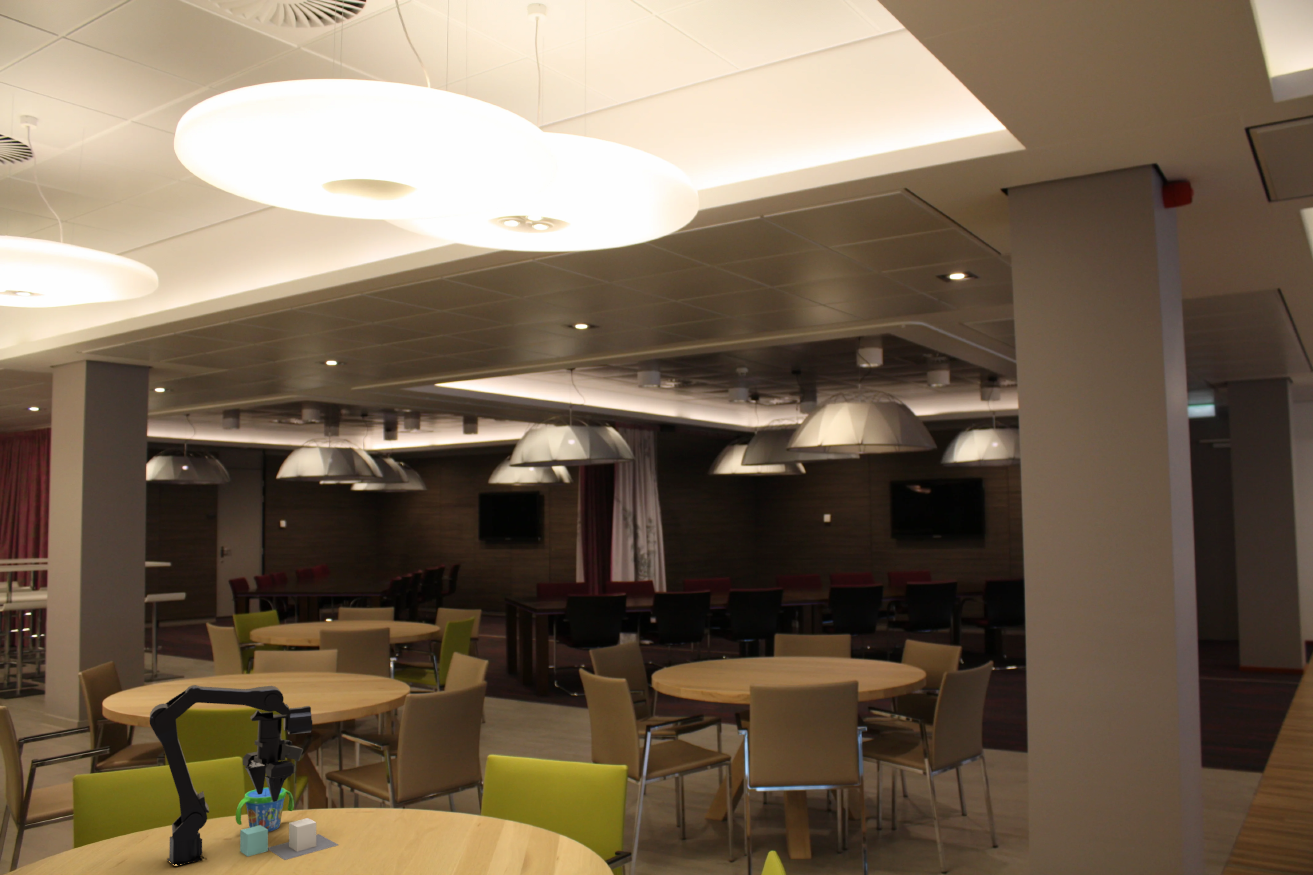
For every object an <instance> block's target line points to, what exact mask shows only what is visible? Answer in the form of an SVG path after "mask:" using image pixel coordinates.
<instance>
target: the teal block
mask: <svg viewBox="0 0 1313 875" xmlns="http://www.w3.org/2000/svg"><path fill="white" fill-rule="evenodd" d="M239 833H240V834H239V836H240V838H239V839H240V840H239V843H240V844H239V846H240V847H239V852H240V853H242V854H243V855H245V856H246V857H252V856H255V855H260V854H263V853H265V852H266V853H267V852H269V850H268V847H269V832H268V829H266V828H264V827H263V826H261V825H259V826H255V827H251V828H250V827H247V828H244V829H243V828H241V829H240V832H239Z"/></svg>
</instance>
